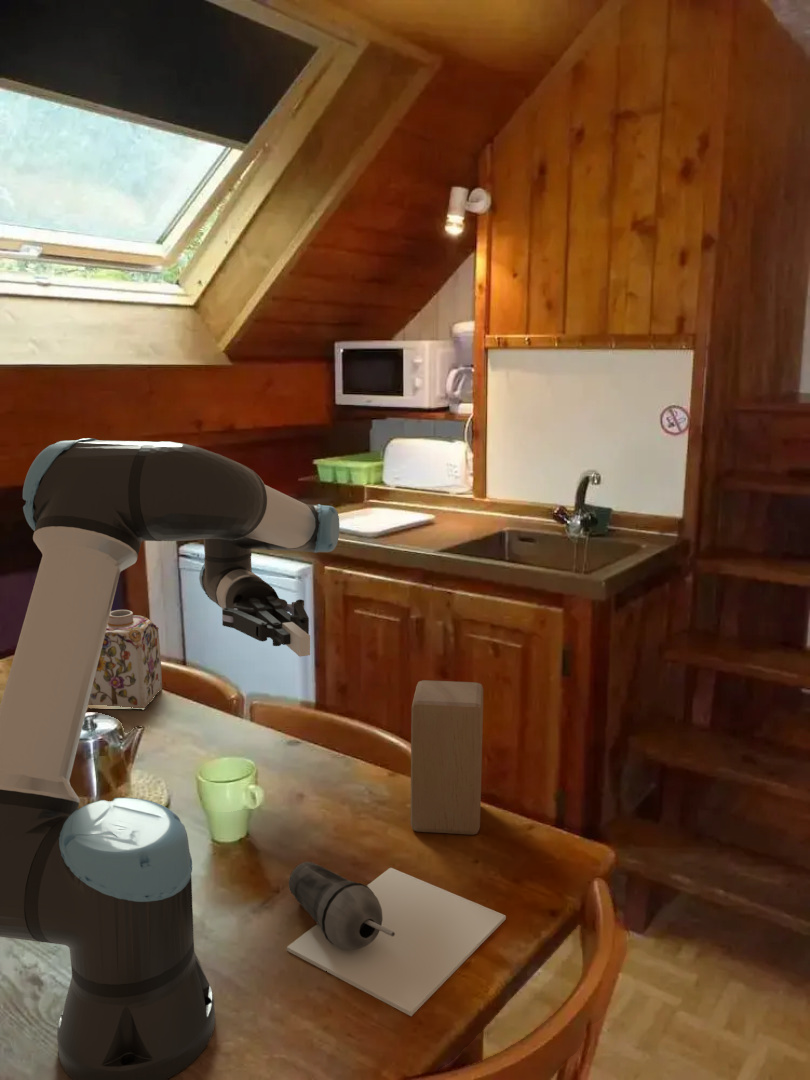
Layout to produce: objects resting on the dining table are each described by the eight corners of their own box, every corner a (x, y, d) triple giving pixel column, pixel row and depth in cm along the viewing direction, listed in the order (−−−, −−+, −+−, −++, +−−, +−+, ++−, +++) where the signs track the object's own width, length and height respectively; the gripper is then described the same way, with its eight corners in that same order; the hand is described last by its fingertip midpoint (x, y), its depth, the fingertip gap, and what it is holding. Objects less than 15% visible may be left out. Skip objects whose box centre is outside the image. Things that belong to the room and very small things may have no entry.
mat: (411, 1016, 91) (411, 1012, 91) (287, 950, 101) (286, 946, 101) (505, 919, 107) (505, 915, 107) (390, 870, 117) (390, 867, 117)
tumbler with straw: (270, 904, 108) (351, 976, 91) (290, 845, 109) (373, 906, 93) (318, 912, 112) (405, 983, 95) (337, 856, 113) (426, 916, 96)
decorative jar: (107, 687, 181) (102, 603, 178) (163, 689, 181) (159, 604, 177) (84, 710, 170) (78, 621, 166) (144, 711, 169) (139, 622, 166)
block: (480, 803, 135) (483, 680, 131) (479, 837, 125) (482, 706, 121) (415, 799, 136) (417, 677, 132) (409, 833, 126) (410, 702, 122)
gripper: (287, 617, 140) (349, 665, 120) (207, 627, 134) (257, 680, 114) (287, 572, 138) (350, 613, 118) (206, 580, 132) (257, 625, 112)
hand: (304, 646), depth 116 cm, fingers closed
